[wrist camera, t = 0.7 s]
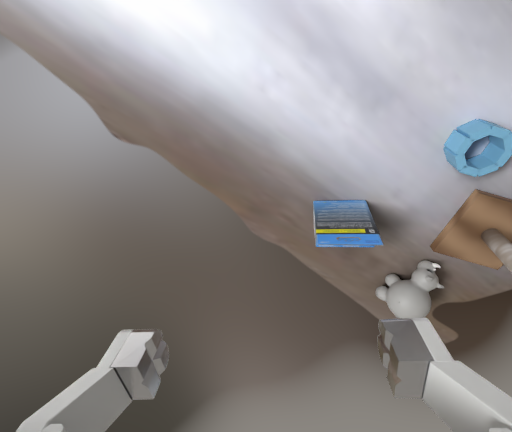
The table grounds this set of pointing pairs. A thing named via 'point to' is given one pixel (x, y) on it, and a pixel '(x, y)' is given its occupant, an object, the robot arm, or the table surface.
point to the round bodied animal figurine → (411, 291)
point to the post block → (479, 232)
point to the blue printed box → (344, 224)
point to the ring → (493, 154)
